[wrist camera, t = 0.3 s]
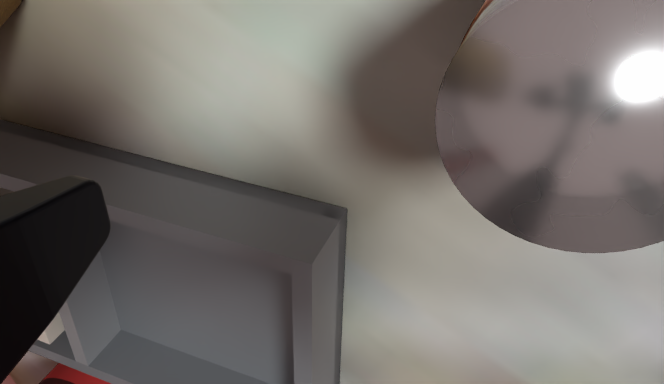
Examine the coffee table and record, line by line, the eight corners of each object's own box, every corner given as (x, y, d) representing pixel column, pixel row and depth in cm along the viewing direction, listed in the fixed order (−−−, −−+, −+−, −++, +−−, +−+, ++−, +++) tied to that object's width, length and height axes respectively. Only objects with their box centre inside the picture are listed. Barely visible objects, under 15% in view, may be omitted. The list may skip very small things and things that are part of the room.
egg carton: (92, 302, 33) (32, 362, 30) (21, 277, 35) (-43, 332, 31) (56, 184, 29) (-19, 238, 25) (-23, 161, 30) (-104, 209, 27)
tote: (338, 403, 31) (311, 462, 28) (22, 289, 37) (-25, 329, 34) (347, 208, 24) (311, 264, 21) (-49, 106, 30) (-115, 139, 27)
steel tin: (672, 128, 17) (693, 285, 12) (476, 92, 19) (418, 216, 14) (757, -84, 14) (837, 4, 9) (511, -105, 16) (453, -42, 10)
